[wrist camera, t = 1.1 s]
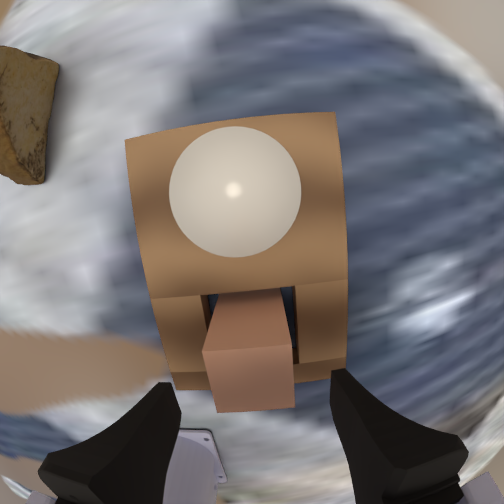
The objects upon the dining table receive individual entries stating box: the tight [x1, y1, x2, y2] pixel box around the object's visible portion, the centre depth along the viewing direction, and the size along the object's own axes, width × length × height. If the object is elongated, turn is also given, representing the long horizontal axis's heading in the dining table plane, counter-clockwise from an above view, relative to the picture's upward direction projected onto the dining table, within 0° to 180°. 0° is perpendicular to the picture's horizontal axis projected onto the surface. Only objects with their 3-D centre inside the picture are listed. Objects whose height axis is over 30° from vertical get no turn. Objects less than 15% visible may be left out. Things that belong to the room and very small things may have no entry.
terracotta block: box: [202, 288, 295, 413], centre depth 16 cm, size 4×4×7 cm
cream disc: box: [169, 126, 301, 257], centre depth 16 cm, size 7×7×1 cm
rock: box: [0, 46, 59, 185], centre depth 13 cm, size 11×9×10 cm
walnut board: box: [125, 112, 348, 390], centre depth 18 cm, size 17×12×2 cm
